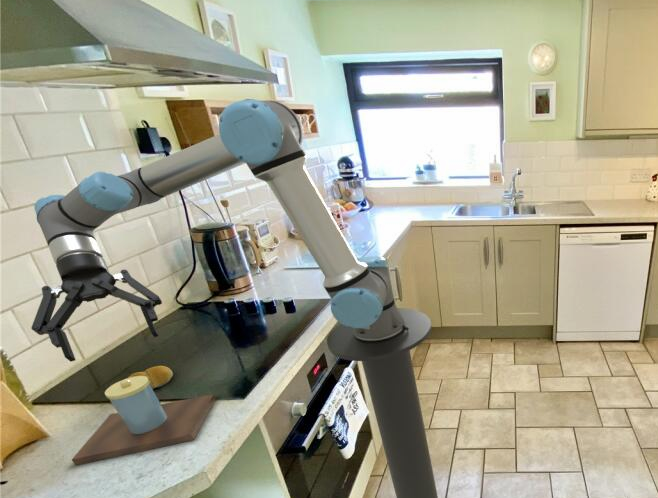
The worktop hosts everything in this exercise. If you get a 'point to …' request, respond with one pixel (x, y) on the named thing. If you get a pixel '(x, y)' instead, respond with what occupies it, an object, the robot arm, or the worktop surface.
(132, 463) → the worktop surface
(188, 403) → the board
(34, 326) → the robot arm
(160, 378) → the bread roll
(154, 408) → the butter crock
